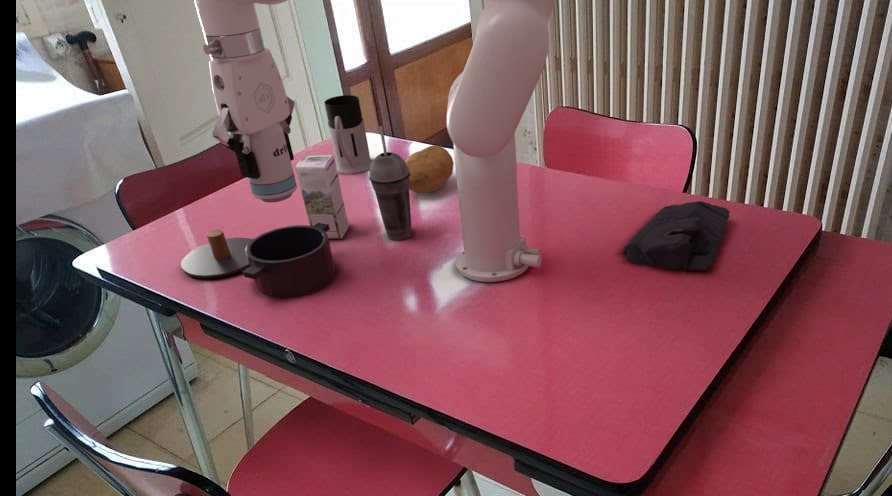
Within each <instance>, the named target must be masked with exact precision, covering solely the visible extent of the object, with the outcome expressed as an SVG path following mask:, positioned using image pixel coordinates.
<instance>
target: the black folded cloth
mask: <svg viewBox="0 0 892 496" xmlns="http://www.w3.org/2000/svg"><path fill="white" fill-rule="evenodd" d="M729 218H730V210H729V208H727V207H723V206H718V205H716V204H711V203H710V202H705V201H702V200H701V201H690V202H685V203H681V204H670V205H665V206H664V207H662V208H661V209H659V211H658V212H657V213H656V214H655V215H654V217H653V218H651V219H650V220H649V221H648V223H646V224H645V225H643V227H642V228H640V229H639V231H638V232H637V233H635V235H634V236H633V237H632V238H631V239H630V241H629V242H628V243H627V244H626V245H625V246H624V247H623V248H622V251H621V253H622V254H623V255H625V256H626V260H627V262H629V263H633V264H637V265H640V266H641V265H646V266H650V267H653V268H658V269H661V270H665V271H675V272H679V271H687V272H692V271H697V270H700V271H708V270H710V269H711V267H712V266H713V263H714V261H715V260H716V256H717V255H718V251H719V249H720V245H721V242H722V241H723V237H724V235H725V230H726V226H727V221H728V220H729Z"/></svg>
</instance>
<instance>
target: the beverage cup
mask: <svg viewBox="0 0 892 496" xmlns="http://www.w3.org/2000/svg"><path fill="white" fill-rule="evenodd" d="M379 133H380V138H381V144H382V149H383V152H382V153H379V154H378V155H376V156H375V157H374V159H373V160H371V161H372V163H371V166H370V169H369V181H370V183H371V186H372V189H373V191H374V193H375V198H376V200H377V204H378V209H379V212H380V216H381V219H382V223H383V226H384V230H385V232H386V236H387V238H388V239H389V240H392V241H404V240H406V239H409V238H410V237H411V236H412V215H411V200H410V198H411V197H410V190H409V182H410V177H409V176H410V172H409V170H408V167H407V164H406V163H405V161H406V160H404V159H403V157H401V156H400V155H399V154H397V153H395V152H392V151H391V152H390V151H388V149H387V145H386V144H387V143H386V139H385V134H384V133H385V132H384V129H383V126H382V125H380V126H379Z"/></svg>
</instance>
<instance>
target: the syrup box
mask: <svg viewBox="0 0 892 496" xmlns="http://www.w3.org/2000/svg"><path fill="white" fill-rule="evenodd" d="M294 169H295V173H296V176H297V180H298V184H299V189H300V192H301V197H302V201H303V204H304V208H305V211H306V212H305V213H306V216H307V220H308V223H309V224H308V225H309V226H314V225H315V224H317V223H323V224H329V228H330V230H328V231H327V232H326V234H327V235H328V239H329V240H341V239H343V237H344V236H345V235H346V233H347V231H348V229H349V227H350V223H349V219H348V215H347V212H346V207H345V202H344V199H343V193H342V192H343V191H342V187H341V183H340V178H339V172H337V167H336V159H335V154H324V155H323V154H322V155H304V156H303V157H302V158H300V160H299V161H298V162H297V164H296V165H295V166H294Z"/></svg>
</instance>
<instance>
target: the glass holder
mask: <svg viewBox="0 0 892 496" xmlns="http://www.w3.org/2000/svg"><path fill="white" fill-rule="evenodd" d="M324 107H325V112H326V116H327V117H326V118H327V125H328V130H329V135H330V139H331V145H332V150H333V155H334V158H335V163H336V167H337V172H338V174H339V173H340V174H345V175H350V174H359V173H363V172H366V171H368V170H370V166H371V163H372V161H373V160H372V159H371V154H370V149H369V143H368V138H367V132H366V126H365V120H364V117H363V115H362V114H363V113H362V110H361V103H360V99H359V97H358V96H357V95H351V94H345V95H344V94H343V95H337V96H333V97H329V98H327V99H326V100H325V101H324Z"/></svg>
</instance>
